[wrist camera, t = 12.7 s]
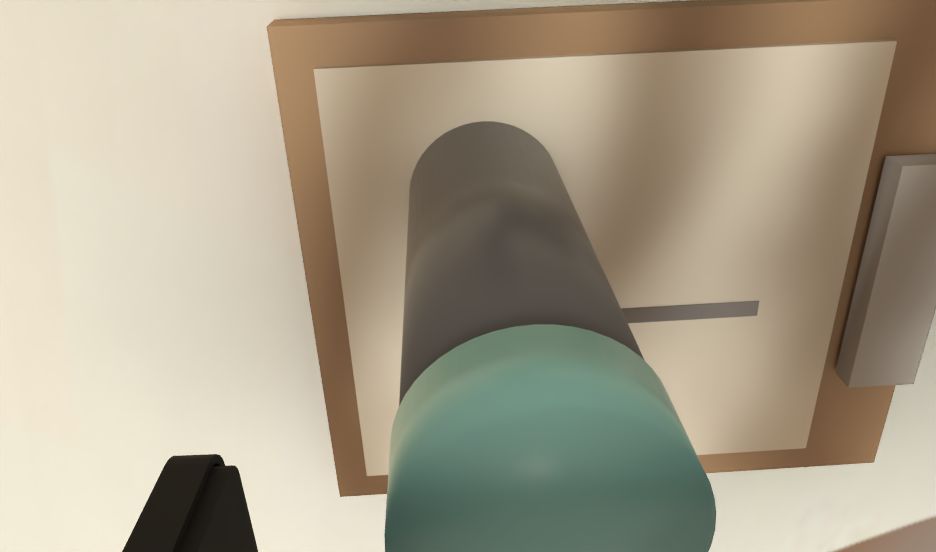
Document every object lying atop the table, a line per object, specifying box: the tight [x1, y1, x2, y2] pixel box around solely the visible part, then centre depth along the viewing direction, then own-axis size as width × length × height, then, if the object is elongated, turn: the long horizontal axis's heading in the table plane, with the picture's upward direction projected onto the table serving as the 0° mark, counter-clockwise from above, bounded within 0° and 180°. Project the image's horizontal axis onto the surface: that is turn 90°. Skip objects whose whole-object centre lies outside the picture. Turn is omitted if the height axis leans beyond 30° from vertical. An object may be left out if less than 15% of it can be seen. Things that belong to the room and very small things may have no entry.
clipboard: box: [267, 0, 936, 497], centre depth 22 cm, size 18×15×2 cm
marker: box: [385, 121, 716, 552], centre depth 15 cm, size 4×4×12 cm
